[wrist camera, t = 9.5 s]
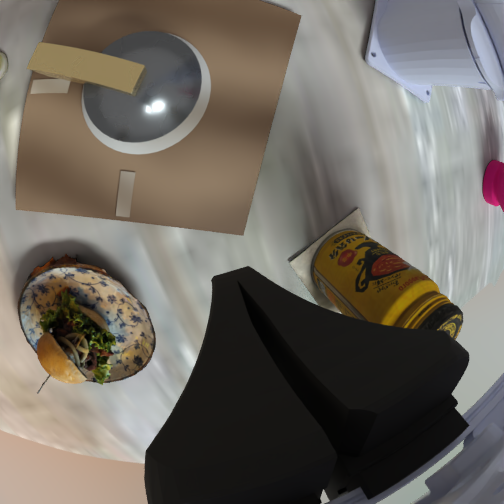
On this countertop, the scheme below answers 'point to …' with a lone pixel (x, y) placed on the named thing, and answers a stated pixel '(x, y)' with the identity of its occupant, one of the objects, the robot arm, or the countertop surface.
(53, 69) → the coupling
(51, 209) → the post base
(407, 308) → the condiment
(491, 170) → the pepper mill
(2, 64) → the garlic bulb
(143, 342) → the plate of food
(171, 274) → the countertop surface
